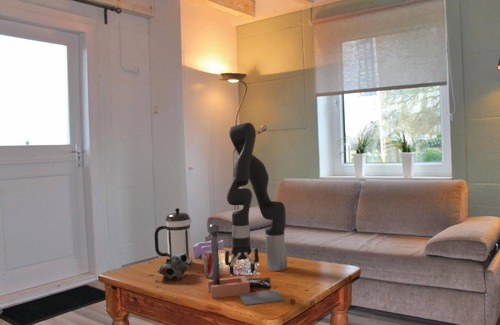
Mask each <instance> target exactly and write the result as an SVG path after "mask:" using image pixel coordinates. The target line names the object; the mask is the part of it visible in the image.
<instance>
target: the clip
mask: <svg viewBox="0 0 500 325" xmlns="http://www.w3.org/2000/svg"><path fill="white" fill-rule="evenodd" d="M224 247H225V246H224V240H223V239H220V241H219V240H218V250H224V251H225V249H224ZM207 250H211V239H210V240H209V241H203V242H198V243H195V244H194V245H192V259H199V258H200V256H201V261H202V260H203V261H204V254H205V251H207Z"/></svg>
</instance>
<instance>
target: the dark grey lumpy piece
mask: <svg viewBox="0 0 500 325" xmlns="http://www.w3.org/2000/svg"><path fill="white" fill-rule="evenodd" d="M189 262H190V261H189V255H187V256H186V254H183V253H178V254H175V255H174V256H173V257H172V260H171V261H170V259H169V258H168V257H167V258H166V260H165V262H164V263H163V264H161V266H160V267H159V270H157V271H156V272H157V273H158V274H160V275H162V276H165V277H167V278H168V279H171V280H174V279H175V281H180V280H182V279H183V278H185V272H186V271H187V270H188V269H189V267H190V266H189Z"/></svg>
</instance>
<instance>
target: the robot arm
mask: <svg viewBox="0 0 500 325" xmlns="http://www.w3.org/2000/svg"><path fill="white" fill-rule="evenodd" d="M228 131H229V132H228V133H229V138H230V140H231V143H232V145H233V147H234V148H235V151H236V153H237V155H238V157H237V158H236V160H235V162H234V164H233V170H232V181H231V183H230V186H229V189H228V191H227V195H226V199H227V200H226V201H227V203H228V205H230V206H243V208H241V209H239V210H235V211H232V213H231V222H232V225H231V228H232V229H231V238H232V239H231V242H232V248H231V249H230V250H228V249H224V264H225V266H228V267H229V273H230V274H231V275H232V276H235V275H234V274H235V273H234V264H235V263H236V262H237V261H241V260H249V262H250V273H251V274H254V272H255V270H256V269H255V266H256V264H257V263H259V261H260V258H259V250H258V248H257V246H256V247H254V248H251V232H250V231H251V230H250V218H249V217H250V216H249V215H250V208H251V204H252V200H253V193H252V191H251V189H249V188H241V187H245V186H246V185H248V184H249V182H250V184H251V186H252V190H253V192H254V195H255V198H256V201H257V204H258V206H259V210H260V214H261V215H262V217H263V219H265V220H268V221H272V222H271V226H267V227H266V228H265V251H266V252H265V253H266V266H267V267H266V270H268V271H271V272H280V271H284V270H287V269H288V260H287V259H288V258H287V257H288V256H287V249H286V244H285V243H286V242H285V229H286V207H285V205H284V203H283V202H282V201H272V200H271V198H270V196H269V193H268V186H269V180H270V179H269V174H268V172H267V169H266V166H265V165H264V163H263V162H262V161H261V159H259V158H257V157H256V155H254V154H253V152H254V147H255V143H256V138H257V136H256V134H257V133H256V128H255V126H254V125H253V124H252V123H251V122H245V123H241V124H237V125H234V126H231V127H230V128H229V130H228ZM251 253H253V255H254V256H253V257H254V259H253V258H252V257H251V256H250V255H251ZM231 254H232V255H233V256H232V257H231V260H230V256H231Z"/></svg>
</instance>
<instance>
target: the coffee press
mask: <svg viewBox="0 0 500 325" xmlns="http://www.w3.org/2000/svg"><path fill="white" fill-rule="evenodd" d="M174 210H175V212H171V213H169V214H168V215H166V217H165V221H166V225H161V226H158V227H157V228H155V231H154V248H155V249H154V250H155V252H156V253H155V254H157V256H160V257H167V258H169V259H170V261H171V260H172V257H173V256H174V255H175V254H178V253H183V254H186V256H187V255H189V267H190V266H191V262H192V247H191V223H193V222H194V221H193V220H192V218H191V217H190V215H189V214H188V213H187V212H181V211H180V208H178V207H177V208H175V209H174ZM161 230H166V239H167V252H161V251H160V249H159V248H160V247H159V246H160V245H159V232H160V231H161Z"/></svg>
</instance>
